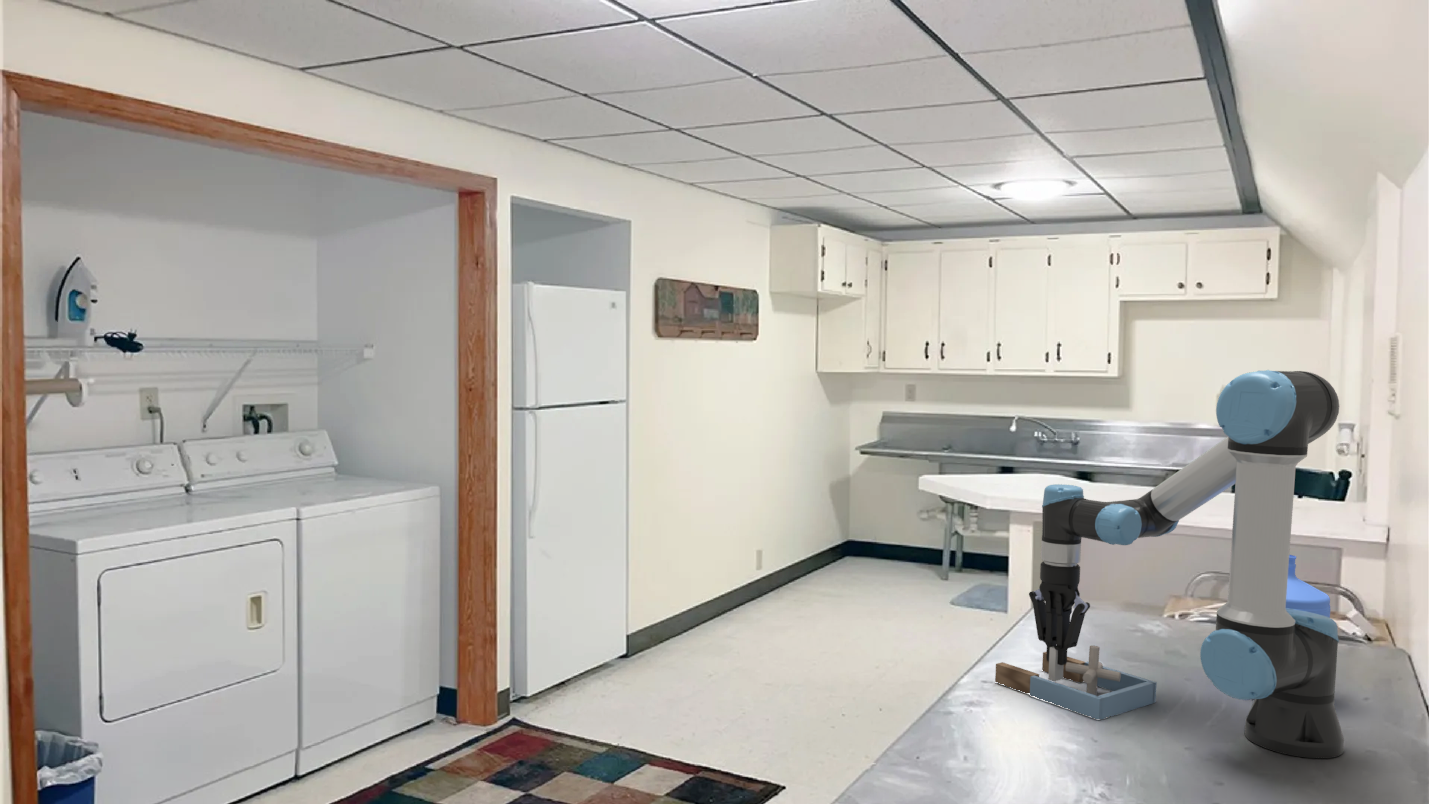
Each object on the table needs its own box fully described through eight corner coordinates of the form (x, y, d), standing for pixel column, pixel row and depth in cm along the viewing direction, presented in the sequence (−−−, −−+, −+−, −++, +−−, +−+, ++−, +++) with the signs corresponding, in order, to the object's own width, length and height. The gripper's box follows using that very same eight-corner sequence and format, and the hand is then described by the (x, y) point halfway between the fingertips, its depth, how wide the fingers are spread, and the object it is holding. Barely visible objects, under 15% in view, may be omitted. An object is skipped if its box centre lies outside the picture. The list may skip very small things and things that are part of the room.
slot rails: (1085, 681, 212) (1085, 662, 212) (1031, 696, 203) (1032, 675, 202) (1048, 669, 220) (1048, 651, 220) (995, 683, 210) (995, 663, 210)
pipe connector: (1113, 710, 196) (1116, 657, 195) (1058, 698, 201) (1062, 647, 200) (1123, 696, 204) (1126, 646, 204) (1070, 685, 209) (1074, 636, 209)
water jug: (1338, 712, 197) (1346, 566, 196) (1249, 704, 201) (1256, 561, 199) (1308, 686, 213) (1316, 550, 211) (1226, 679, 216) (1232, 546, 214)
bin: (1155, 702, 200) (1156, 682, 200) (1098, 720, 190) (1099, 699, 190) (1087, 680, 213) (1088, 661, 213) (1029, 696, 202) (1030, 676, 202)
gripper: (1100, 566, 204) (1095, 685, 205) (1044, 554, 214) (1040, 667, 216) (1077, 570, 199) (1072, 691, 201) (1021, 558, 210) (1017, 673, 211)
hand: (1055, 679), depth 208 cm, fingers closed
